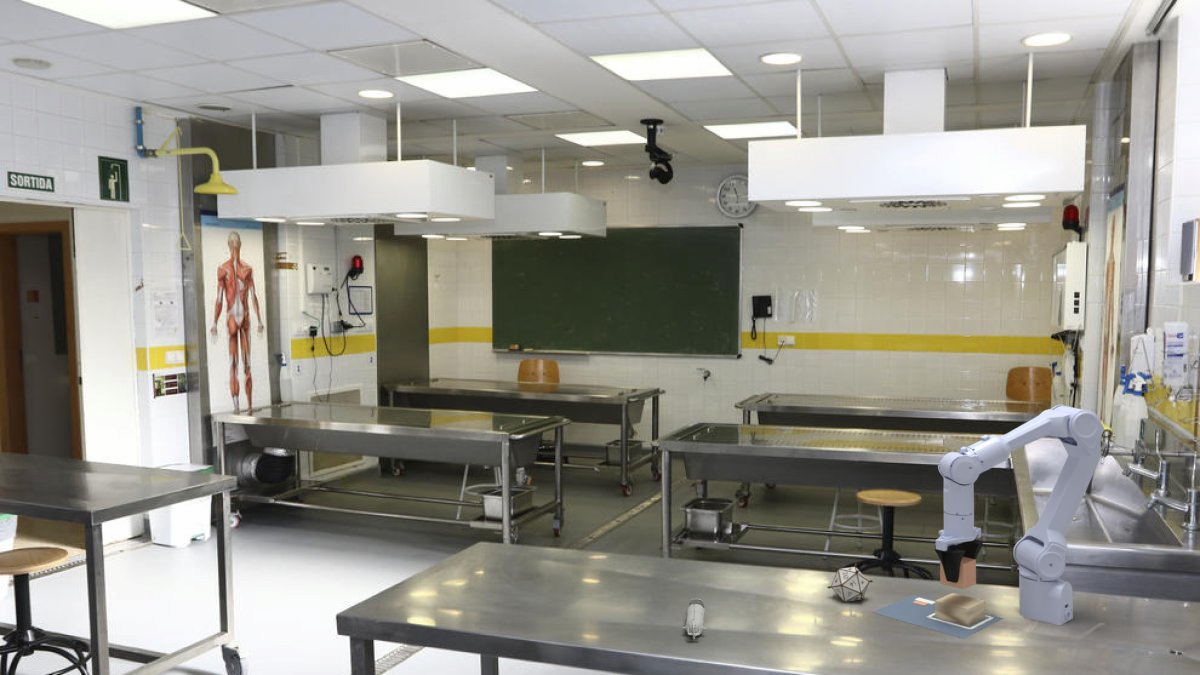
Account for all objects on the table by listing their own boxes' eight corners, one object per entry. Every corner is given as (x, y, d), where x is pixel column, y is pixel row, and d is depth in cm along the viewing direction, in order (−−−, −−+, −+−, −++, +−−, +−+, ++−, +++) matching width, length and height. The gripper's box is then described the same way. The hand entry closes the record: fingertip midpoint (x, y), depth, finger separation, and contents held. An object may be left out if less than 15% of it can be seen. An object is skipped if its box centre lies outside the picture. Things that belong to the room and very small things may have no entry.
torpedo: (685, 612, 194) (684, 581, 194) (707, 612, 193) (707, 582, 193) (681, 644, 176) (681, 610, 176) (706, 644, 175) (705, 611, 175)
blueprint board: (1003, 621, 184) (1003, 617, 184) (963, 642, 173) (963, 637, 173) (913, 598, 199) (913, 594, 199) (872, 615, 188) (872, 611, 188)
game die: (858, 621, 196) (875, 593, 190) (820, 605, 197) (835, 577, 191) (863, 590, 203) (879, 562, 197) (826, 575, 204) (841, 547, 198)
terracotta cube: (976, 583, 184) (975, 559, 184) (963, 589, 181) (963, 564, 180) (952, 578, 188) (952, 554, 188) (940, 583, 184) (939, 559, 184)
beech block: (985, 617, 184) (985, 600, 184) (968, 626, 179) (968, 609, 179) (952, 609, 189) (952, 592, 189) (935, 617, 185) (935, 600, 184)
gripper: (958, 503, 191) (958, 566, 192) (921, 515, 182) (922, 581, 182) (990, 508, 186) (991, 574, 186) (954, 521, 176) (955, 590, 177)
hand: (959, 578), depth 184 cm, fingers closed on terracotta cube, 5 cm apart
